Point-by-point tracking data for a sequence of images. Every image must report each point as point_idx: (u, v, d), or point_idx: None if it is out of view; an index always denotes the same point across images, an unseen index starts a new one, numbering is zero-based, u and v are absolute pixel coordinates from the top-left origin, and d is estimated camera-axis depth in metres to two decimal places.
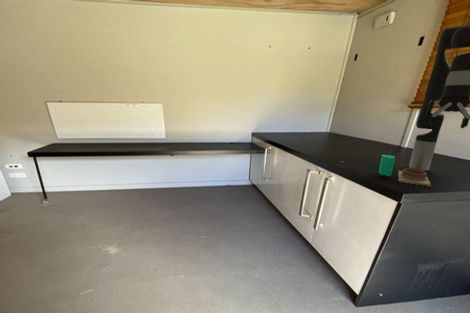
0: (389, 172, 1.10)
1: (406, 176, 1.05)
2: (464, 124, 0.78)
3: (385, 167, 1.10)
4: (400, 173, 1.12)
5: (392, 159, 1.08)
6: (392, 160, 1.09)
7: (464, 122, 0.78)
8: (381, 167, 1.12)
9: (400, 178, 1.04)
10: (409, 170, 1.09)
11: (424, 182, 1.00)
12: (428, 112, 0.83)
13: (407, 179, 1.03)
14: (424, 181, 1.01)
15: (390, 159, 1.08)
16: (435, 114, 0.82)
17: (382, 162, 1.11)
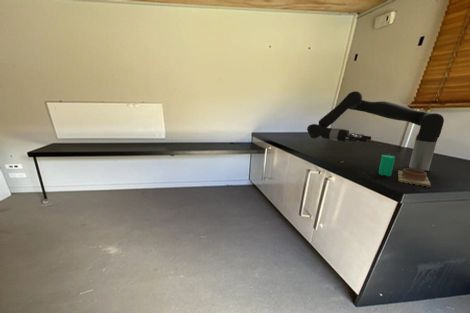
0: (389, 172, 1.10)
1: (406, 176, 1.05)
2: (363, 141, 1.14)
3: (385, 167, 1.10)
4: (400, 173, 1.12)
5: (392, 159, 1.08)
6: (392, 160, 1.09)
7: None
8: (381, 167, 1.12)
9: (400, 178, 1.04)
10: (409, 170, 1.09)
11: (424, 182, 1.00)
12: None
13: (407, 179, 1.03)
14: (424, 181, 1.01)
15: (390, 159, 1.08)
16: None
17: (382, 162, 1.11)
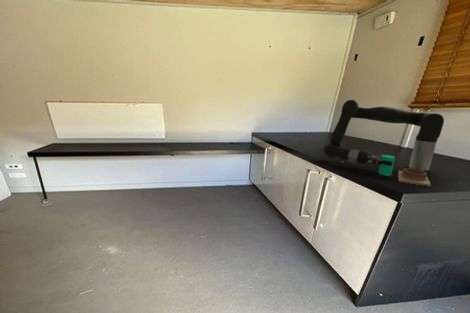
0: (389, 172, 1.10)
1: (406, 176, 1.05)
2: None
3: (385, 167, 1.10)
4: (400, 173, 1.12)
5: (392, 159, 1.08)
6: (392, 160, 1.09)
7: None
8: (381, 167, 1.12)
9: (400, 178, 1.04)
10: (409, 170, 1.09)
11: (424, 182, 1.00)
12: None
13: (407, 179, 1.03)
14: (424, 181, 1.01)
15: (390, 159, 1.08)
16: None
17: None
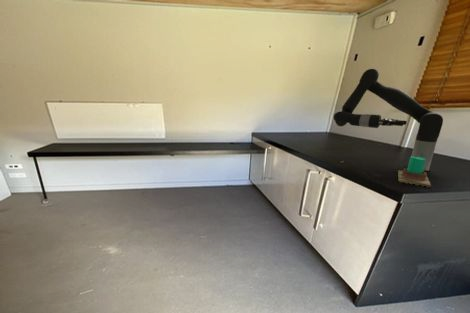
0: None
1: (406, 176, 1.05)
2: (399, 125, 1.07)
3: (415, 169, 1.03)
4: (400, 173, 1.12)
5: (423, 161, 1.01)
6: (422, 162, 1.01)
7: None
8: (410, 169, 1.05)
9: (400, 178, 1.04)
10: None
11: (424, 182, 1.00)
12: None
13: (407, 179, 1.03)
14: (424, 181, 1.01)
15: (420, 161, 1.01)
16: None
17: (411, 164, 1.04)
